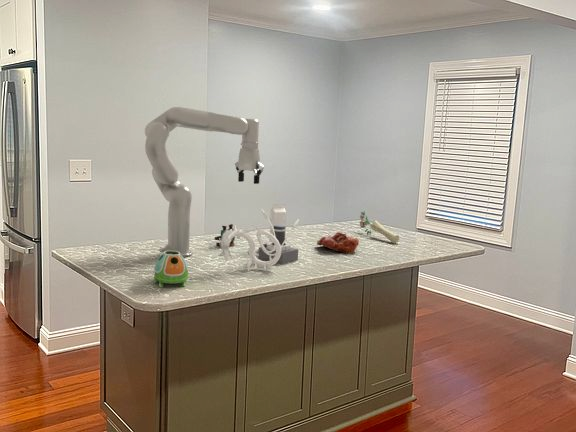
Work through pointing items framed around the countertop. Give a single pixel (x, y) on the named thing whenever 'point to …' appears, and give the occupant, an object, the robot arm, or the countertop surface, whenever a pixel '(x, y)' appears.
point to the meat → (339, 242)
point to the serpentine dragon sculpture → (253, 244)
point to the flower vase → (378, 229)
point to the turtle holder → (171, 268)
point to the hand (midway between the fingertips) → (248, 182)
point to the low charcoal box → (286, 253)
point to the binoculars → (225, 232)
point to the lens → (279, 233)
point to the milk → (277, 217)
